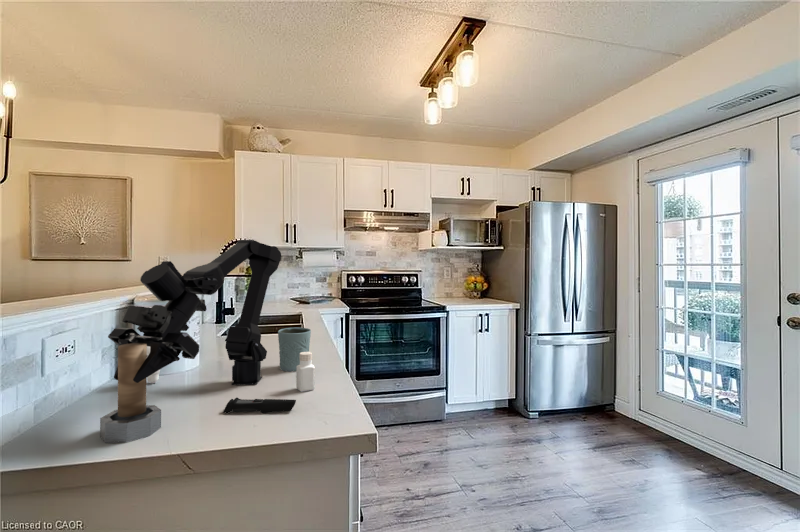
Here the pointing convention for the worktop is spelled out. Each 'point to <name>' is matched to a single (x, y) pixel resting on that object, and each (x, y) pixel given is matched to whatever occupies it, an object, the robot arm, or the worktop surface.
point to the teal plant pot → (292, 346)
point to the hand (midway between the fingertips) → (125, 380)
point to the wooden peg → (131, 379)
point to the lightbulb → (154, 376)
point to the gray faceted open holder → (130, 425)
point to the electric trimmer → (259, 405)
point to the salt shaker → (305, 373)
